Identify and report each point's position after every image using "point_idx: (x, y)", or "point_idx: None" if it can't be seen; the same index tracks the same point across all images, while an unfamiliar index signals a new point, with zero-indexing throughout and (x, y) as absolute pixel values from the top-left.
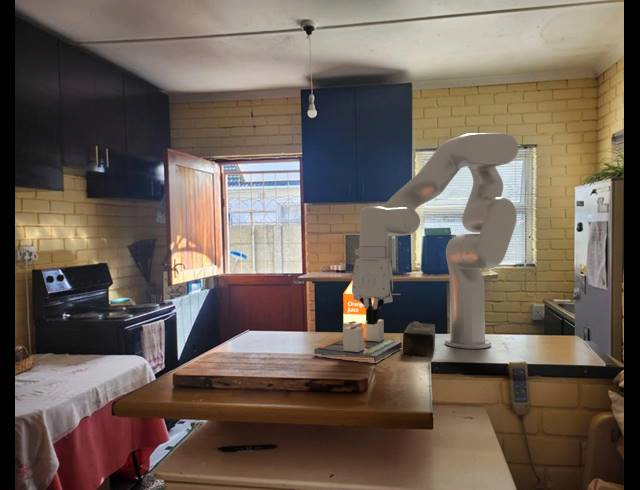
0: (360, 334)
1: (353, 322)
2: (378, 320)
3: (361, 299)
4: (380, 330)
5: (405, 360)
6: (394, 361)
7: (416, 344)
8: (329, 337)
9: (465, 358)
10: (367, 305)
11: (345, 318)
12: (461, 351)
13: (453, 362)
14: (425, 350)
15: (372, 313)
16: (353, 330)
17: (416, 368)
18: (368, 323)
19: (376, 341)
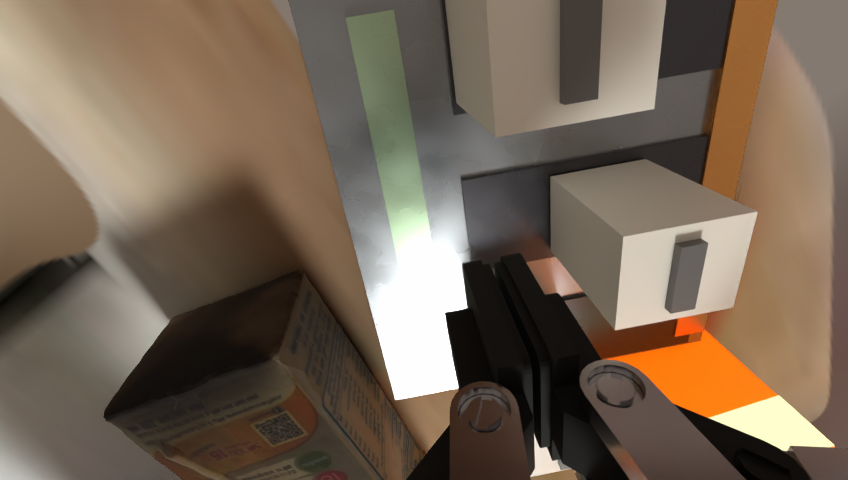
0: (476, 50)
1: (674, 273)
2: (537, 447)
3: (780, 478)
4: None
5: (230, 198)
6: (260, 141)
7: (209, 329)
8: (789, 359)
9: (55, 391)
10: (609, 407)
11: (791, 423)
12: (165, 467)
13: (26, 304)
14: (178, 326)
15: (489, 330)
16: None
17: (42, 68)
18: (506, 256)
19: None
